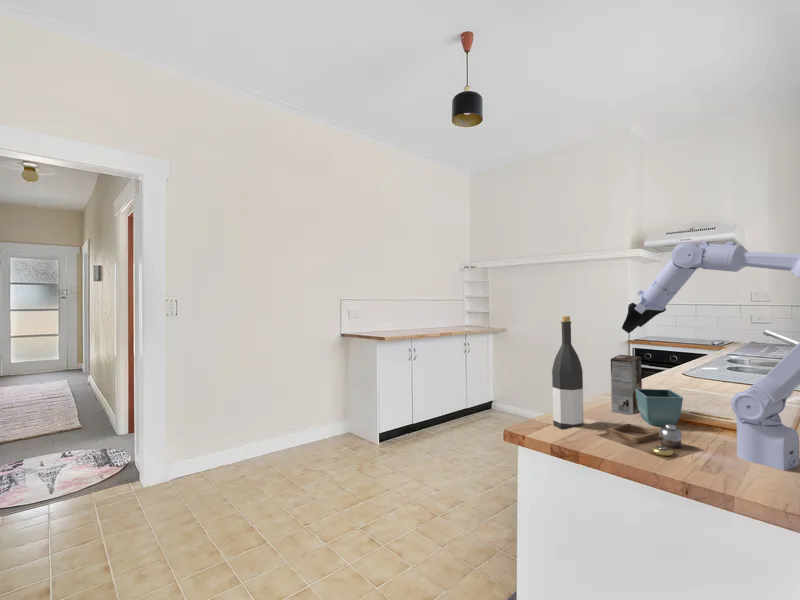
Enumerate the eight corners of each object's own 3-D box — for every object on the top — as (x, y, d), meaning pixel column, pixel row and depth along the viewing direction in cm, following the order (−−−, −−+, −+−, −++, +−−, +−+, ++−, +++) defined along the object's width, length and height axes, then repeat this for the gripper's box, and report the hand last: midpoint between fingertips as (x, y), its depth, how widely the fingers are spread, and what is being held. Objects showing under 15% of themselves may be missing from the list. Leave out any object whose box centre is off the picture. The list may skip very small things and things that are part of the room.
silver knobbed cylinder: (685, 446, 96) (685, 426, 96) (674, 449, 95) (673, 429, 95) (667, 441, 100) (667, 421, 100) (656, 444, 98) (656, 424, 98)
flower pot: (684, 432, 109) (684, 397, 108) (646, 430, 110) (646, 396, 110) (670, 421, 117) (669, 389, 117) (635, 420, 119) (634, 388, 119)
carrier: (703, 454, 94) (703, 444, 94) (668, 465, 89) (668, 454, 89) (629, 431, 111) (629, 422, 111) (596, 439, 106) (596, 430, 106)
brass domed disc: (677, 454, 92) (677, 449, 92) (665, 458, 90) (665, 452, 90) (659, 448, 96) (659, 443, 96) (647, 452, 94) (647, 446, 94)
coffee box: (620, 405, 135) (619, 354, 134) (643, 408, 130) (642, 356, 130) (610, 411, 128) (609, 358, 128) (634, 415, 124) (633, 360, 123)
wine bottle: (547, 425, 117) (544, 316, 116) (562, 419, 122) (559, 315, 121) (575, 432, 111) (573, 317, 110) (589, 425, 116) (587, 315, 115)
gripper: (661, 273, 110) (629, 312, 118) (639, 280, 101) (606, 323, 109) (686, 289, 107) (652, 329, 114) (666, 298, 97) (630, 341, 105)
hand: (631, 327), depth 111 cm, fingers open, 7 cm apart
